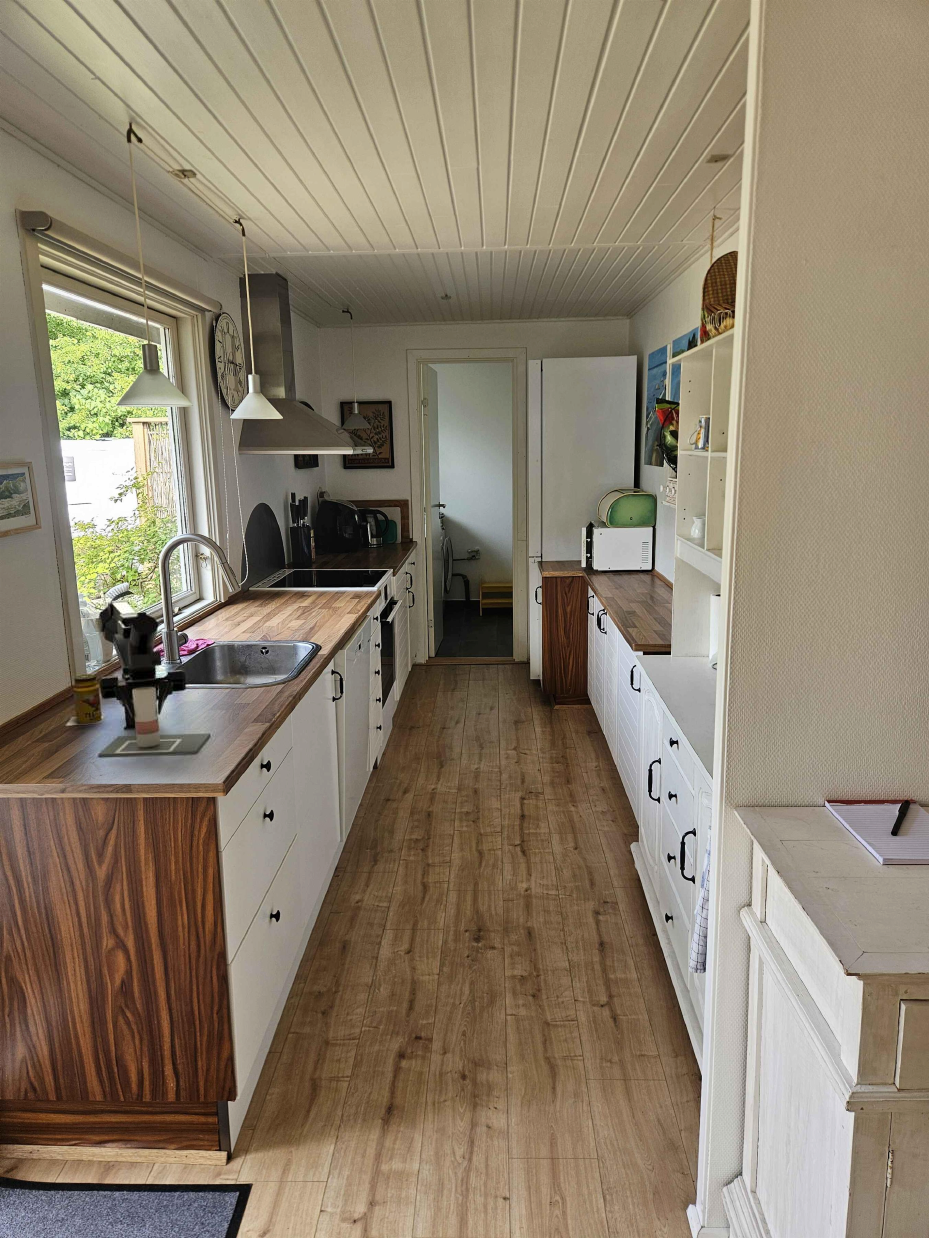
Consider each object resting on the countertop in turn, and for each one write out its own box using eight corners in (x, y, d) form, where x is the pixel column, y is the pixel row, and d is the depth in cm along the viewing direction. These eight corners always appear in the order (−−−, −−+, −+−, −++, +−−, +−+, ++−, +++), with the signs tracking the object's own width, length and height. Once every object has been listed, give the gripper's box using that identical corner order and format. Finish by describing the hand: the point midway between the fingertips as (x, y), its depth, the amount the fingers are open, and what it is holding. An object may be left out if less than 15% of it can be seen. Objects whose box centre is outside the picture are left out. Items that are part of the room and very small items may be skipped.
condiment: (100, 723, 215) (96, 678, 213) (65, 726, 214) (60, 681, 211) (105, 715, 222) (101, 672, 220) (71, 718, 221) (67, 674, 218)
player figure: (133, 747, 192) (128, 692, 190) (141, 740, 197) (136, 686, 195) (156, 746, 192) (151, 692, 190) (163, 739, 197) (158, 686, 195)
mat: (98, 756, 190) (97, 753, 190) (118, 738, 203) (118, 735, 203) (196, 753, 191) (195, 750, 191) (210, 735, 204) (210, 732, 204)
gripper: (96, 643, 191) (98, 702, 183) (182, 636, 197) (188, 693, 189) (100, 669, 199) (103, 726, 191) (182, 661, 206) (188, 717, 198)
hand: (146, 715), depth 192 cm, fingers open, 5 cm apart
